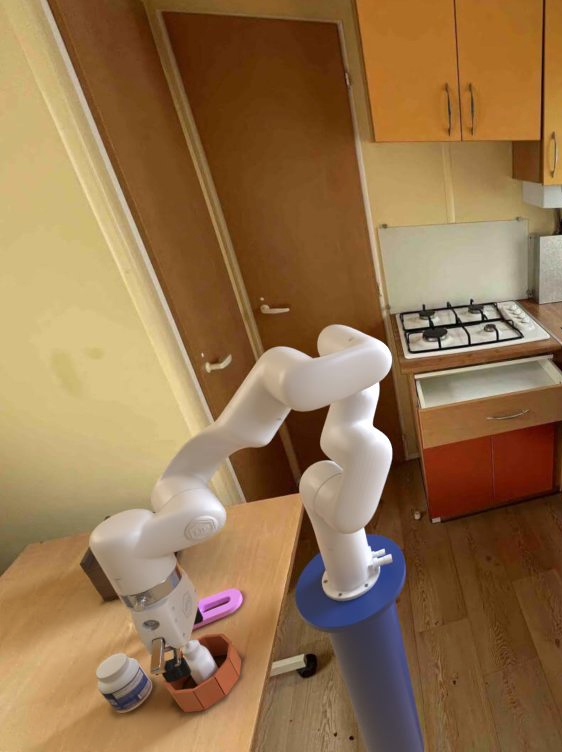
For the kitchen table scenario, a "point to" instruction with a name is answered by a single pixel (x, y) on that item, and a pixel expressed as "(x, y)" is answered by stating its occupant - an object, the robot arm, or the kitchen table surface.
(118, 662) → the pill bottle
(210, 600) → the bracket
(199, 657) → the eye dropper bottle
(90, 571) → the shelf
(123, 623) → the kitchen table surface
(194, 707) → the holder cup
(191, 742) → the kitchen table surface
